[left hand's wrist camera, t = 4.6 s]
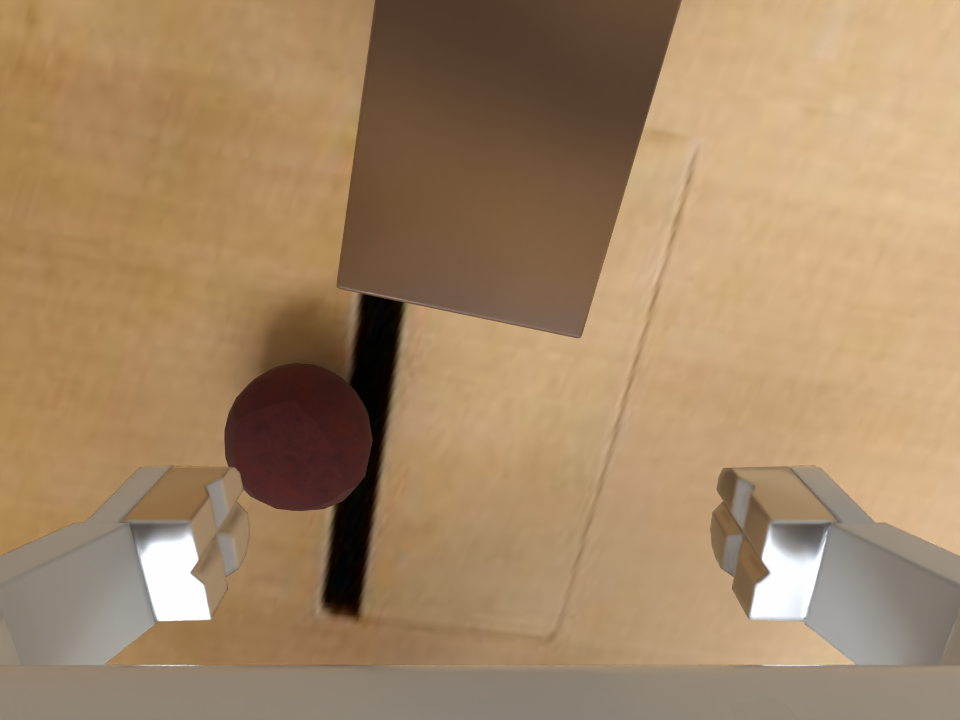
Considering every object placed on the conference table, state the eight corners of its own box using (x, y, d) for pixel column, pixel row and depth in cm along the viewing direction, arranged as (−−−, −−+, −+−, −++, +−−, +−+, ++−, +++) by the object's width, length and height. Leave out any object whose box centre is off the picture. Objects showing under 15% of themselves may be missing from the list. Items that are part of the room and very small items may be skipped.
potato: (349, 327, 32) (316, 379, 26) (402, 447, 35) (385, 522, 28) (226, 368, 33) (163, 429, 26) (287, 482, 36) (244, 562, 29)
